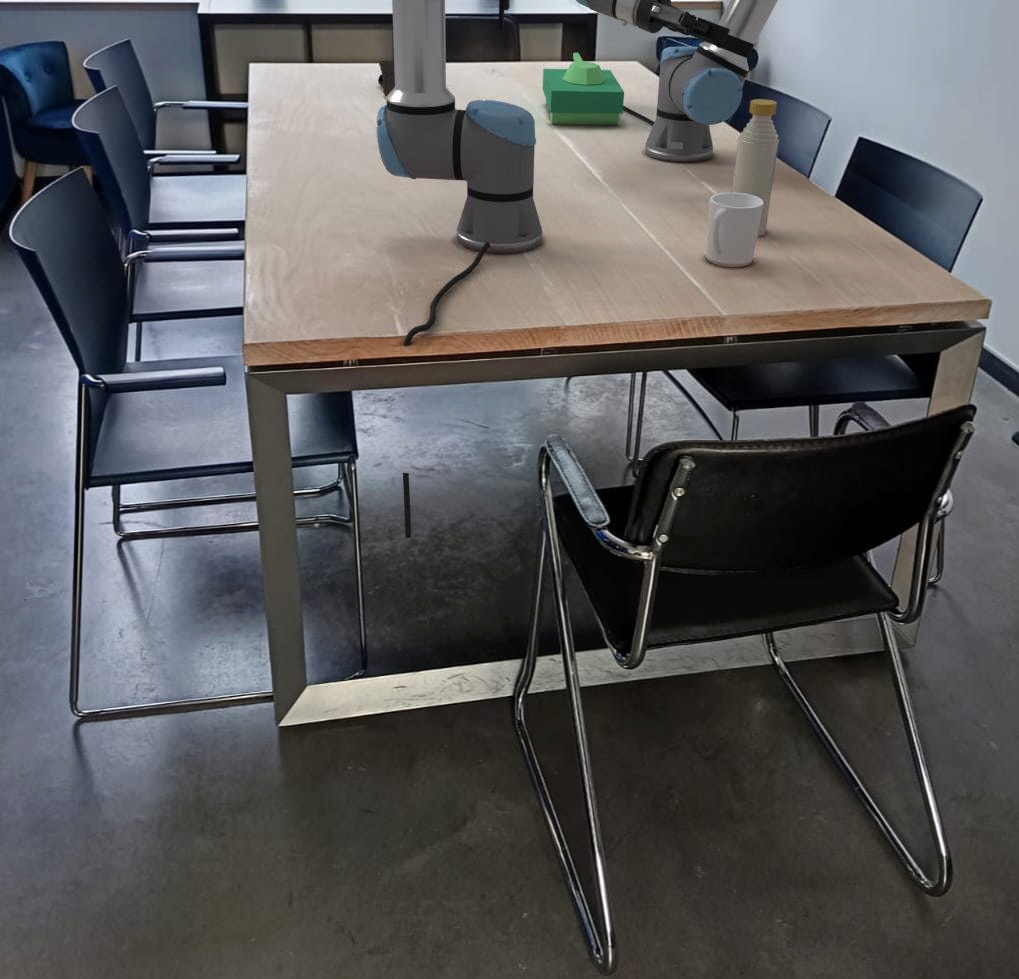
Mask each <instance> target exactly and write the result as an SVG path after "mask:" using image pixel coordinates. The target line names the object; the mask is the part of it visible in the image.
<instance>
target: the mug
mask: <svg viewBox="0 0 1019 979" xmlns="http://www.w3.org/2000/svg"><path fill="white" fill-rule="evenodd" d="M763 204H764V202H763V200H762V199H760V198H759V197H756V196H753V195H749V194H744V193H732V192H720V193H715V194H712V195H711V196H710V198H709V205H708V219H707V220H708V221H707V235H706V248H705V249H706V250H705V258H706V260H707V261H708V262H710V263H711V264H714V265H717V266H721V267H728V268H739V267H740V268H742V267H746V266H749V265H751V264H752V263H753V260H754V256H755V250H756V245H757V240H758V237H757V235H758V230H759V225H760V219H761V214H762V209H763Z"/></svg>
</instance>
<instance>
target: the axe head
mask: <svg viewBox="0 0 1019 979" xmlns="http://www.w3.org/2000/svg"><path fill="white" fill-rule="evenodd" d="M378 66H379V68H380V72H381V74H379V75H378V79H377V84H378V85H379V86H380V87H381V88H382V89H383V95H384V96H385V97H387V96H388V94H389V93H390V92H391V91H392V90H393V89H394V87H395V68H394V60H388V59H387V60H380V61H379V62H378Z"/></svg>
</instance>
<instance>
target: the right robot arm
mask: <svg viewBox="0 0 1019 979" xmlns="http://www.w3.org/2000/svg"><path fill="white" fill-rule="evenodd" d="M778 1H779V0H729V2H728V4H727V6H726V8H725V10H724V12H723V14H722V15H721V18H720V20H719V22H718V23H715V22H712V21H710V20H707V19H704V18H701V17H699V16H698V17H697V16H696V15H695V14H691V13H690V12H689V11H687V10H686V11H685V10H682V9H680V8H678V7H677V6H675V5H672V0H575V2H577V3H578V4H579V5H582V6H584V7H586V8H588V9H589V10H591V11H594V12H597V13H600V14H602V15H604V16H608V17H610V18H612V19H615V20H618V21H621V25H622V26H623V27H626V26H627V25H630V26H633V27H637V28H638V29H640V30H642V31H645V32H648V33H649V34H657V33H659V32H660V31H661V30H662V29H663V28H666V29H667V30H669V31H671V32H673V33H679V34H682V35H683V36H686V37H688V36H690V37H693V38H696V39H697V40H701V41H703V42H700V43H699V44H698V46H668V47H666V48H664V49H663V51H662V52H661V59H660V62H659V66H660V67H659V77H658V78H659V79H658V91H657V103H656V114H655V115H656V116H655V119H654V120H652V119H650V118H648V117H647V116H646V115H645V116H644V115H643V114H641V113H639V112H637V111H635V110H634V109H630V108H629V107H628V106H625V105H623V111H626V112H628V113H630V114H632V115H634V116H635V117H638V118H640V119H642V120H643V121H646V122H647V123H649V124H651V125H652V127H651V129H650V132H649V134H648V137H647V139H646V142H645V147H644V148H645V149H644V152H645V154H646V155H647V156H649V157H650V158H653V159H656V160H660V161H666V162H674V163H696V162H703V161H707V160H709V159H711V158H712V157H713V154H714V144H713V140H712V139H713V138H712V133H711V129H710V126H714V125H718V124H721V123H723V122H725V121H727V120H728V119H729V118H731V117H732V116H733V115H734V114H735V113H736V112H737V110H738V109H739V107H740V105H741V103H742V98H743V86H742V84H743V82H744V81H745V79H746V77H747V75H748V73H749V70H750V68H749V64H748V59H749V58H750V56H751V54H752V51H753V49H754V47H755V44H756V42H757V41H758V38H759V37H760V35H761V34H762V31H763V29H764V28H765V25H766V24H767V22H768V20H769V19H770V16H771V15H772V12H773V10H774V8H775V7H776V5H777V3H778Z"/></svg>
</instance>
